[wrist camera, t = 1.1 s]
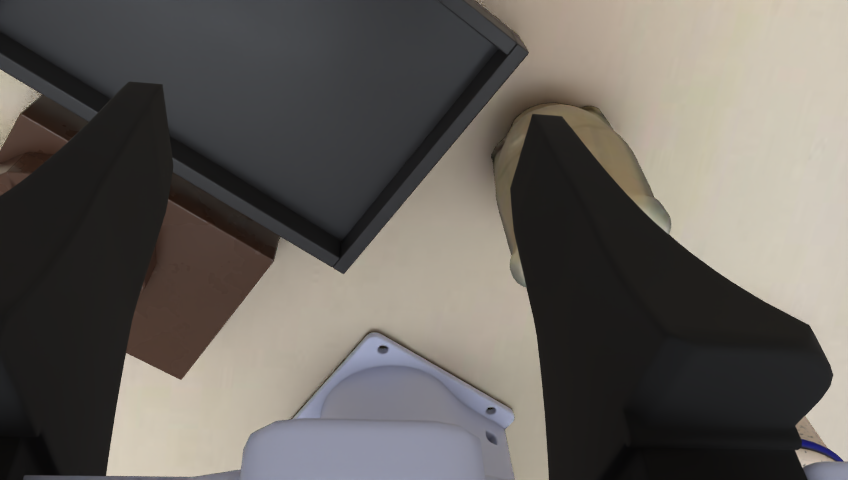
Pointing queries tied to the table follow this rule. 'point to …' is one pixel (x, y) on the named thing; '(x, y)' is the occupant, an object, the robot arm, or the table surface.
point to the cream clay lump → (600, 144)
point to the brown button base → (163, 249)
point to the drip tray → (280, 95)
